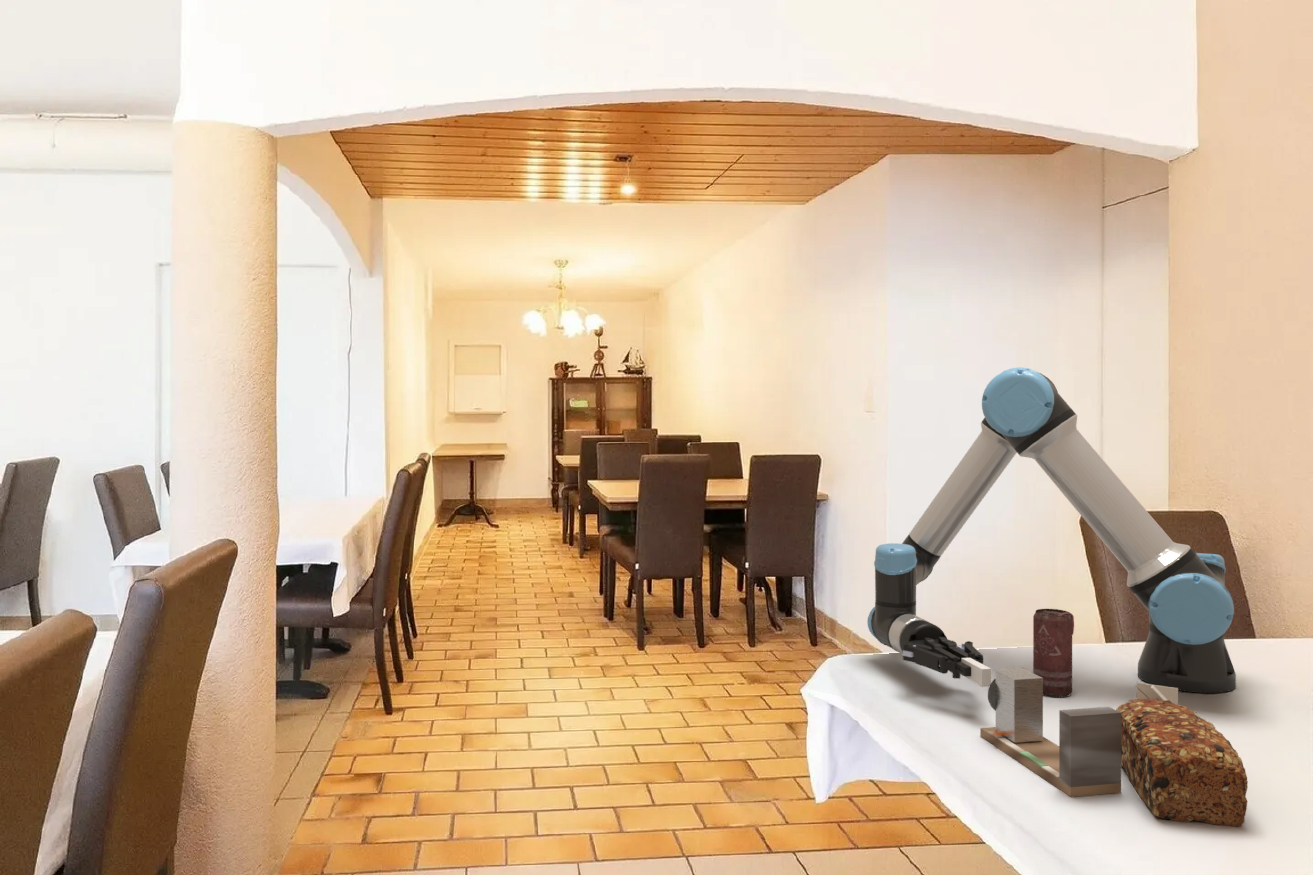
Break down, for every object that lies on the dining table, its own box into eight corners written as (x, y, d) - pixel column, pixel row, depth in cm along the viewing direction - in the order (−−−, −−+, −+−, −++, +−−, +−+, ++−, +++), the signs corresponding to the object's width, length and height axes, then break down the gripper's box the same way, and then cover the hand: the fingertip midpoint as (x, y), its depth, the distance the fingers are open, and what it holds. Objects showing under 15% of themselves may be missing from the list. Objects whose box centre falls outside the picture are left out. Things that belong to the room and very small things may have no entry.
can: (1077, 698, 154) (1077, 615, 153) (1037, 696, 155) (1037, 614, 155) (1069, 688, 160) (1069, 608, 159) (1030, 686, 161) (1030, 607, 161)
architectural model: (1177, 744, 134) (1177, 694, 134) (1124, 735, 138) (1124, 686, 138) (1179, 737, 137) (1179, 688, 136) (1127, 729, 141) (1127, 681, 140)
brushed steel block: (982, 729, 136) (982, 669, 135) (1025, 726, 137) (1025, 666, 136) (1003, 743, 130) (1003, 680, 130) (1047, 740, 131) (1048, 677, 131)
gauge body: (980, 735, 137) (980, 668, 137) (1023, 732, 138) (1023, 665, 138) (1070, 796, 115) (1070, 716, 115) (1121, 792, 116) (1121, 712, 116)
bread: (1113, 763, 126) (1113, 691, 126) (1199, 770, 124) (1200, 696, 123) (1149, 822, 108) (1150, 738, 108) (1251, 831, 106) (1252, 745, 105)
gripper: (952, 659, 165) (1025, 699, 142) (884, 663, 163) (947, 704, 140) (952, 617, 165) (1025, 651, 142) (883, 621, 163) (947, 655, 140)
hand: (986, 677), depth 141 cm, fingers closed
